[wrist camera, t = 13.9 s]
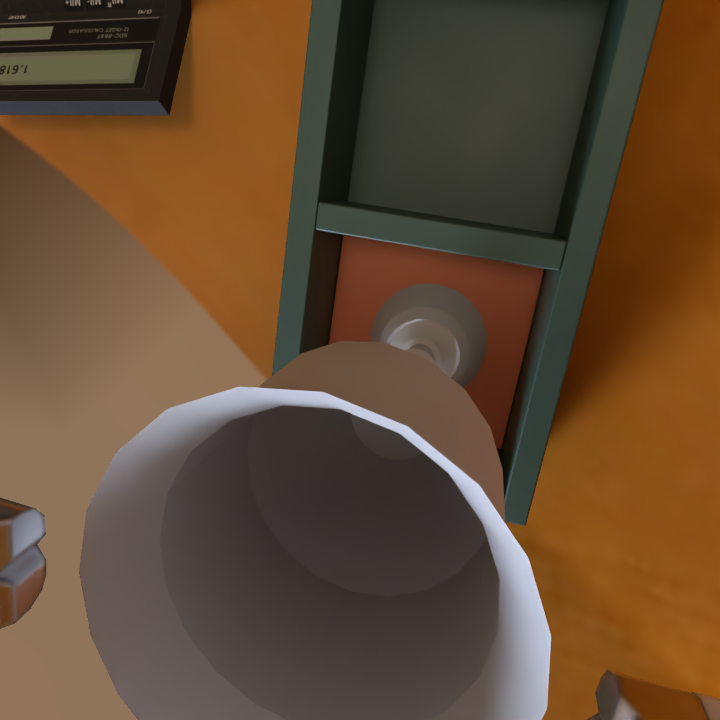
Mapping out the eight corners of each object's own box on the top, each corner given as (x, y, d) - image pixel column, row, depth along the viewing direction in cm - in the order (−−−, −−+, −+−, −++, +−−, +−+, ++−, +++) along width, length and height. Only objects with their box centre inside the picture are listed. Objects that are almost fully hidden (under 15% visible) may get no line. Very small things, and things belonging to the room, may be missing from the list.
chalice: (518, 413, 25) (577, 860, 8) (366, 427, 27) (150, 820, 10) (497, 243, 23) (517, 354, 6) (337, 270, 25) (18, 411, 8)
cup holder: (644, -32, 21) (691, -102, 16) (519, 468, 27) (525, 527, 22) (360, -56, 22) (325, -126, 18) (301, 418, 28) (262, 463, 23)
